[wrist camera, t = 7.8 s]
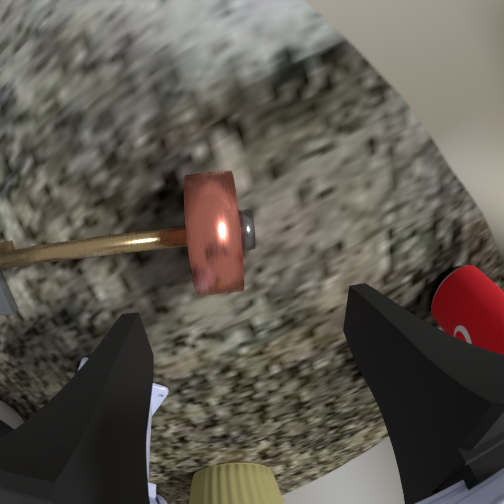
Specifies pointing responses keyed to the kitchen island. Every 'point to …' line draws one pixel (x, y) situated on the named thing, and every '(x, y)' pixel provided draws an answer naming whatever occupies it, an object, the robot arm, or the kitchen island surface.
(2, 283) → the gray bracket
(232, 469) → the potted cactus
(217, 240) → the copper knob on rod
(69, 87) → the kitchen island surface
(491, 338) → the beverage can
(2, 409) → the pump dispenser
